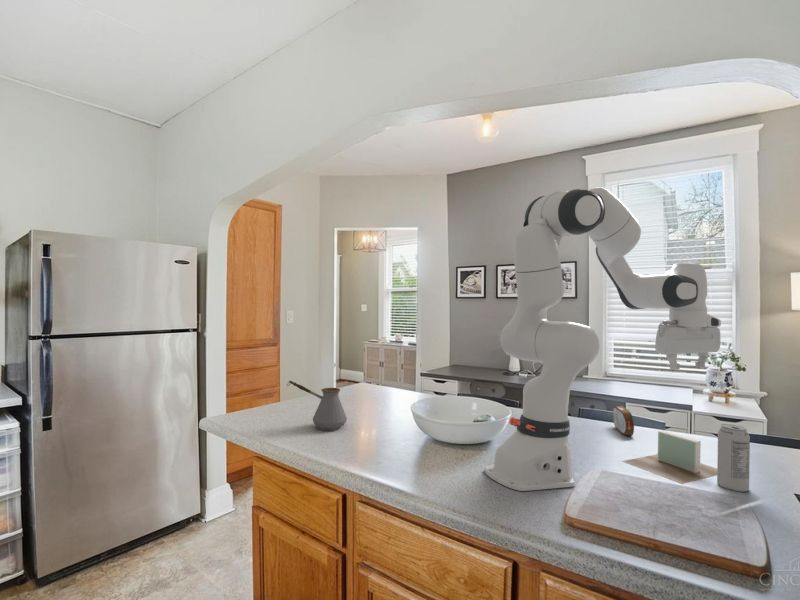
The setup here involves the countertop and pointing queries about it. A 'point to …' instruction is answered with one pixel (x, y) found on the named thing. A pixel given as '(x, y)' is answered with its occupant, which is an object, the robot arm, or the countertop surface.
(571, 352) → the robot arm
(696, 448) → the tile
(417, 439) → the countertop surface
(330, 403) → the coffee pot
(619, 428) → the tin
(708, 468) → the board
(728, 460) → the energy drink can
